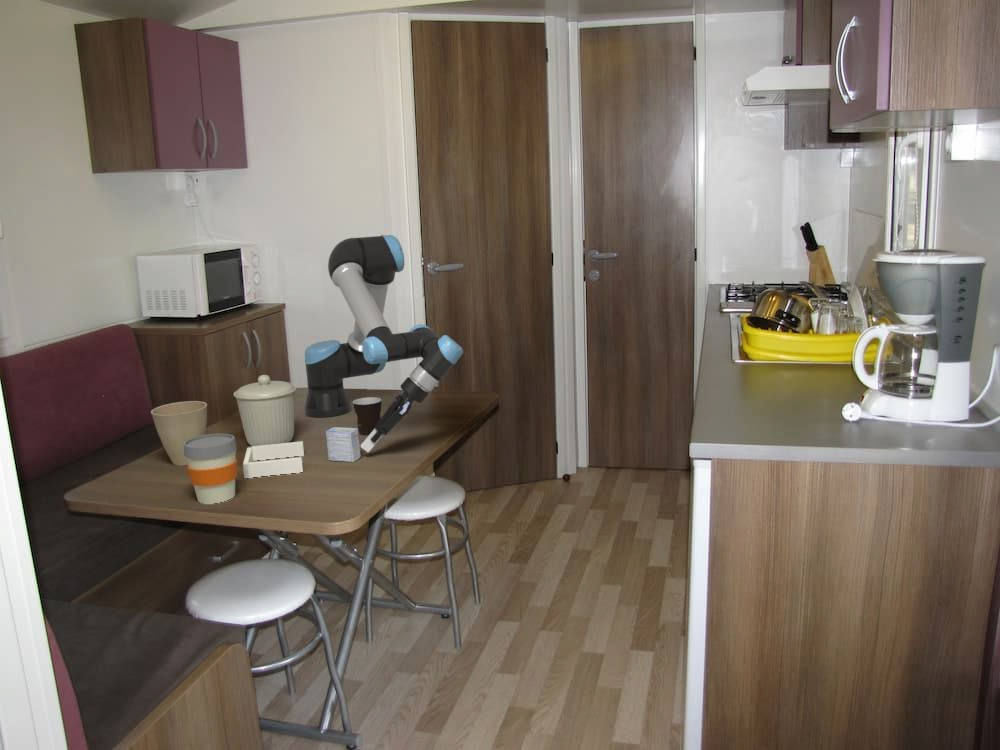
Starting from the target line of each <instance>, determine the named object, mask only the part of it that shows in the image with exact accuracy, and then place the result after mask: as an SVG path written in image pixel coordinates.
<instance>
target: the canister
mask: <svg viewBox="0 0 1000 750" xmlns="http://www.w3.org/2000/svg"><path fill="white" fill-rule="evenodd" d="M257 381H258V382H252V383H249V384H245V385H243V386H240V387H239V388H238V389H237V390H236V391H234V392H233V397H234V398H236V401H237V402H236V403H237V407H238V412H239V415H240V419H241V420H240V421H241V423H242V427H243V432H244V436H245V438H246V439H245V440H246V442H247V443H248V444H249V445H250V447H251V446H261V445H271V444H281V443H291V441H292V440H293V437H294V434H295V400H296V398H295V397H296V396H295V395H296V393H295V392H296V391H297V386H296V385H295V384H293V383H290V382H287V381H282V380H271V377H270V376H269V375H267V374H262V375H259V376H258V378H257Z"/></svg>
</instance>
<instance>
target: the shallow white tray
mask: <svg viewBox="0 0 1000 750" xmlns="http://www.w3.org/2000/svg"><path fill="white" fill-rule="evenodd" d="M294 456H299V457H294ZM286 457H289V458H286ZM302 457H305V451H304V441H303V440H302V441H293V442H291V441H290V442H289V443H281V444H271V445H261V446H251V445H250V446H247V448H246V452H245V455H244V460H243V462H242V463H243V464H242V468H243V477H244V479H245V478H249V479H254V478H253V477H258V478H262V477H261V476H268V477H271V476H270V475H277V476H281V475H280V474H287V475H292V474H291V473H296V474H301V473H300V472H303V473H304V469H303V459H302ZM275 458H280V459H275ZM266 459H270V460H266ZM257 460H260V461H257Z"/></svg>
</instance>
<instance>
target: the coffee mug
mask: <svg viewBox="0 0 1000 750" xmlns="http://www.w3.org/2000/svg"><path fill="white" fill-rule="evenodd" d="M352 404H353V410H354V415H355V418H356V419H355V420H356V424H357V429H358V435H361V436H366V435H367V436H369V435H370V434H371V432H372V431H373V430H374V429H375V426H377V425H378V424H377V422H378V421H379V420H380V419H381V417H382V416H381V415H382V399H381V398H380V397H376V396H375V397H374V396H373V397H372V396H371V397H370V396H368V397H361V398H357V399H354V400H353V401H352Z"/></svg>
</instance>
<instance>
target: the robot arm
mask: <svg viewBox="0 0 1000 750" xmlns="http://www.w3.org/2000/svg"><path fill="white" fill-rule="evenodd" d="M327 263H328V265H327V268H328V274H329V277H330V280H331V281H332V283H333V284H334V286H336V287H337V288H339V290H340V291H341V293H342V296H343V297H344V299H345V302H346V303H347V305H348V308H349V309H350V311H351V313H352V315H353V317H354V326H353V331H352V332H351V333H350V334H349V335H348V337H347V342H343V343H340V341H339V340H336V339H330V340H323V341H322V340H321V341H319V342H315V343H313V344H310V345H309V346H307V347H306V348H305V351H304V364H305V372H306V381H307V389H308V390H307V395H306V399H305V404H304V414H305V416H308V417H312V418H330V417H336V415H337V416H341V415H344V414H347V413H349V412H351V407H352V406H351V402H350V399H349V398H348V395H347V393H346V390H345V387H344V379H347V378H354V377H361V376H370V375H374V374H377V373H380V372H381V371H383V370H384V368H385V367H386V364H387V363H391V362H395V361H402V360H403V361H404V360H409V359H416V358H422V360H421V361H420V362H419V363H418V364H417V365H416V366H415V368H414V369H413V370H412V371H411V372H410V374H409V376H408V377H406V378H405V379H404V380H403V382H401V384H400V388H401V390H402V391H403V393H402V394H400V395H397V396H396V397H395V398H394V399H393V402H392V403H391V404H390V405H389V406H388V408H387V409H386V411H385V412H384V414H383V415H382V416H381V419H380V420H379V421H378V422H377V424H378V425H377V426H375V429H374V430H373V431H372V432H371V434H370V435H367V437H366V438H365V439H364V440H363V442H362V443H361V444H359V446H360V449H363V450H364V451H365V452H366V453H369V452H370V451H371V450H372V449H373V448H374V447H375V446H376V444H377V443H378V442H379V441H380V440H381V439H382V438H383V436H386V435H389V432H390V431H391V430H392V429H393V428H394V427H395V426H396V425H397V424H398V423H399V422H400V421H401V420H403V418H404V417H405V416H406V415H407V414H409V411H410V409H411V408H412V404H413V402H416V403H418V404H421V403H423V401H424V400H425V399H427V397H429V392H432V391H433V390H434V388H437V387H439V382H441V380H442V379H443V378H444V377H445V376H446V375H447V373H448V372H449V371H450V370H451V369H452V368H453V367H454V366H455V364H457V362H458V360H459V359H460V358H461V357H462V355H463V354H464V349H463V347H461V346H460V344H458V343H457V342H456V341H455V340H454V339H452V338H451V337H450V336H449V335H447V334H445V335H444V334H443V335H442V336H441V337H440V336H439V335H438V334H436V332H435V331H434V329H432V328H430V327H428V326H427V325H425V324H421V323H420V324H416V325H414V326H412V327H410V329H409V330H408V331H407V332H399V333H393V332H392V331H391V329H390V327H389V325H388V323H387V321H386V319H385V317H384V312H385V311H384V310H385V305H386V301H387V300H386V299H387V295H388V294H387V293H388V290H389V289H388V288H389V285H390V284H392V283H393V281H394V280H395V275H396V273H400V272H402V271H403V270H404V268H405V254H404V251H403V246H402V245H401V242H400V241H399V239H398V238H397V237H396V236H394V235H388V234H381V235H378V236H377V235H375V236H361V237H350V238H349V237H348V238H345V239H343V240H341V241H340V242H338V243H337V244H336V245H335V246H334V247H333V249H332V250H331V252H330V255H329V258H328V262H327Z"/></svg>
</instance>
